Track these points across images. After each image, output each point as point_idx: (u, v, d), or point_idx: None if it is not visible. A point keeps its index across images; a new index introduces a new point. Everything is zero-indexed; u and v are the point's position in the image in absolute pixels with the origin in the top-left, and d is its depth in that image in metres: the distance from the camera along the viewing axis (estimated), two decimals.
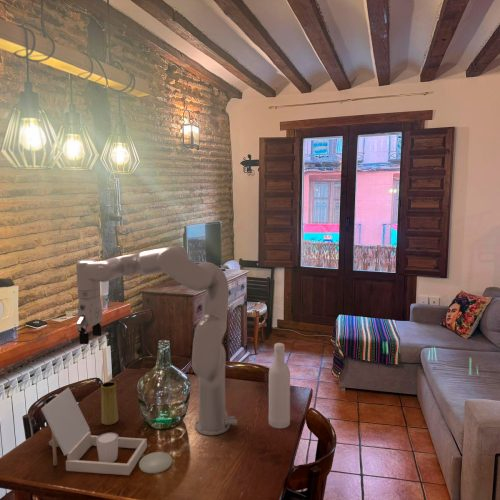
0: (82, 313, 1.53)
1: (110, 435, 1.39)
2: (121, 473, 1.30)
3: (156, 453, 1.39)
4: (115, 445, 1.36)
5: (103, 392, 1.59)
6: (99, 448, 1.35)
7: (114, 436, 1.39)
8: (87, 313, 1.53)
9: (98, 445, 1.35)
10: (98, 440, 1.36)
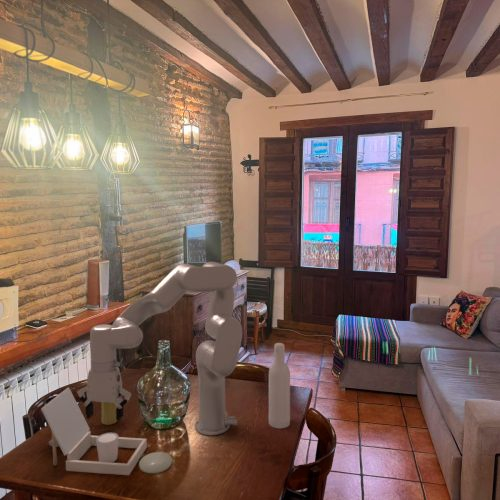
0: (119, 384, 1.35)
1: (110, 435, 1.39)
2: (121, 473, 1.30)
3: (156, 453, 1.39)
4: (115, 445, 1.36)
5: None
6: (99, 448, 1.35)
7: (114, 436, 1.39)
8: (121, 382, 1.37)
9: (98, 445, 1.35)
10: (98, 440, 1.36)
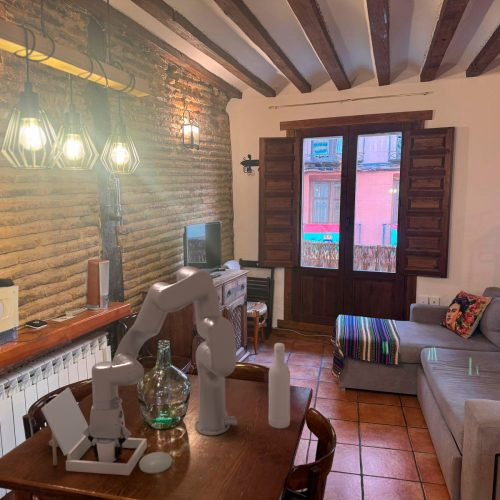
0: (121, 421, 1.36)
1: None
2: (121, 473, 1.30)
3: (156, 453, 1.39)
4: (115, 445, 1.36)
5: None
6: (99, 448, 1.35)
7: None
8: (123, 418, 1.38)
9: (98, 445, 1.35)
10: (98, 440, 1.36)
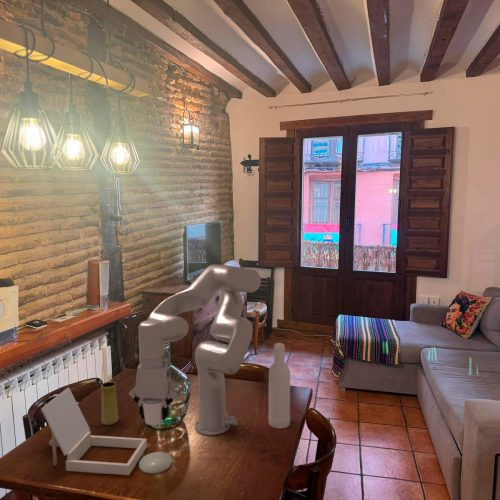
0: (168, 381, 1.32)
1: None
2: (121, 473, 1.30)
3: (156, 453, 1.39)
4: (162, 406, 1.32)
5: (103, 392, 1.59)
6: (146, 409, 1.31)
7: None
8: (170, 378, 1.34)
9: (145, 405, 1.31)
10: (144, 401, 1.32)
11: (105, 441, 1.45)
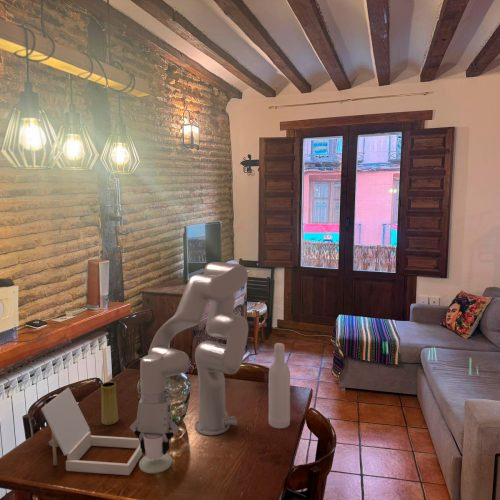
0: (169, 415, 1.33)
1: None
2: (121, 473, 1.30)
3: None
4: (163, 440, 1.33)
5: (103, 392, 1.59)
6: (147, 443, 1.32)
7: None
8: None
9: (146, 440, 1.32)
10: (145, 435, 1.33)
11: (105, 441, 1.45)
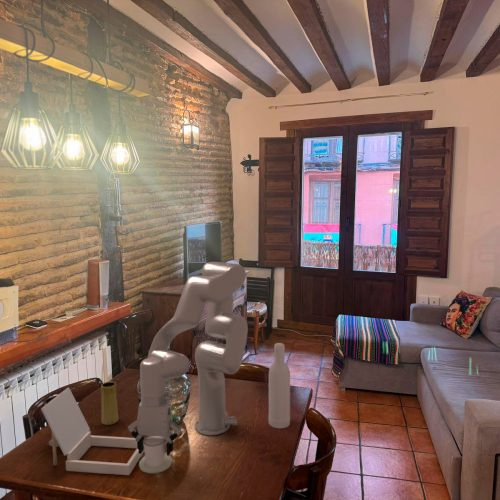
0: (169, 418, 1.33)
1: (156, 437, 1.36)
2: (121, 473, 1.30)
3: None
4: (163, 447, 1.33)
5: (103, 392, 1.59)
6: (147, 451, 1.32)
7: (161, 438, 1.36)
8: (171, 415, 1.35)
9: (146, 448, 1.32)
10: (145, 442, 1.33)
11: (105, 441, 1.45)
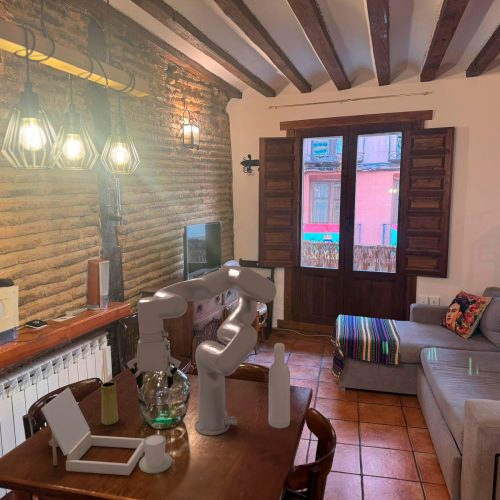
0: (168, 354, 1.39)
1: (157, 437, 1.36)
2: (121, 473, 1.30)
3: None
4: (163, 447, 1.33)
5: (103, 392, 1.59)
6: (147, 451, 1.32)
7: (161, 438, 1.36)
8: (169, 351, 1.41)
9: (146, 448, 1.32)
10: (145, 442, 1.33)
11: (105, 441, 1.45)
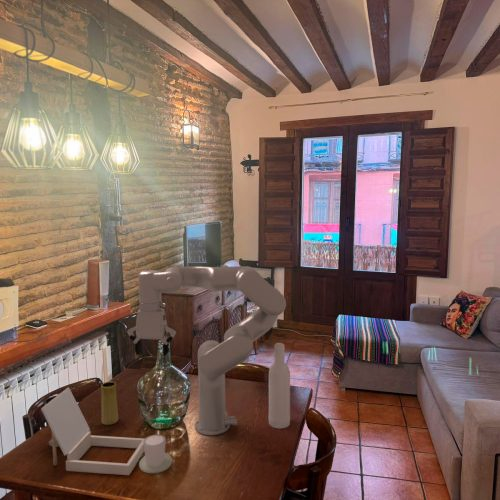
0: (165, 323, 1.50)
1: (157, 437, 1.36)
2: (121, 473, 1.30)
3: None
4: (163, 447, 1.33)
5: (103, 392, 1.59)
6: (147, 451, 1.32)
7: (161, 438, 1.36)
8: (166, 322, 1.52)
9: (146, 448, 1.32)
10: (145, 442, 1.33)
11: (105, 441, 1.45)
